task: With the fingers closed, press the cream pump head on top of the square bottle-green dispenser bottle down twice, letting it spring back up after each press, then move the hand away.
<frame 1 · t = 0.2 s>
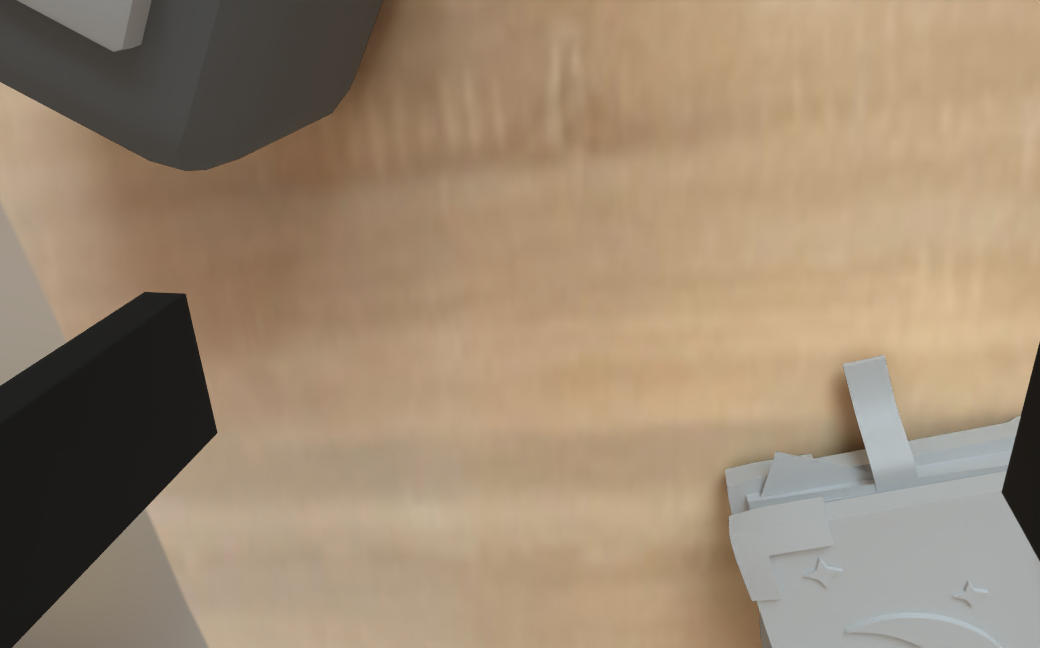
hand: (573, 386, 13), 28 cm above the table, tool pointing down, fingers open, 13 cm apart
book: (920, 562, 46), on the table
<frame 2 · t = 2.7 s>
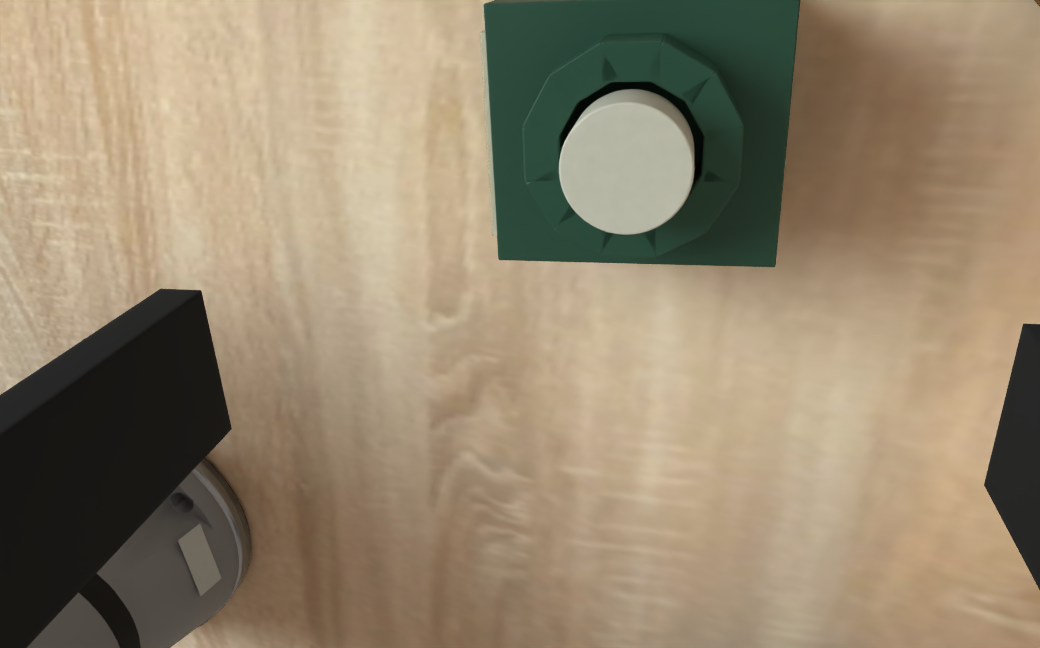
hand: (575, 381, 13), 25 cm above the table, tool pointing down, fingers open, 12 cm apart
pump: (628, 161, 25), point 11 cm above the table, slide at 0.1 cm
dispenser: (646, 99, 35), on the table
bottle label: (504, 124, 31), point 5 cm above the table
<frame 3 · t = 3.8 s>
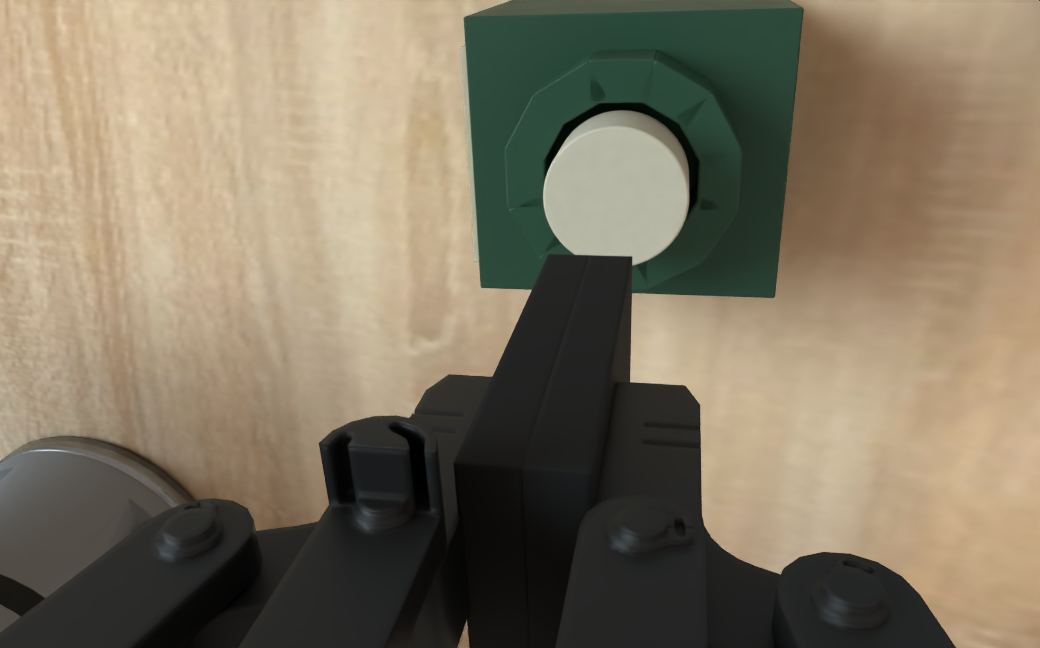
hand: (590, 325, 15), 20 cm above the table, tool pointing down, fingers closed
pump: (618, 188, 23), point 11 cm above the table, slide at 0.1 cm
dispenser: (637, 115, 33), on the table
bottle label: (487, 143, 29), point 5 cm above the table
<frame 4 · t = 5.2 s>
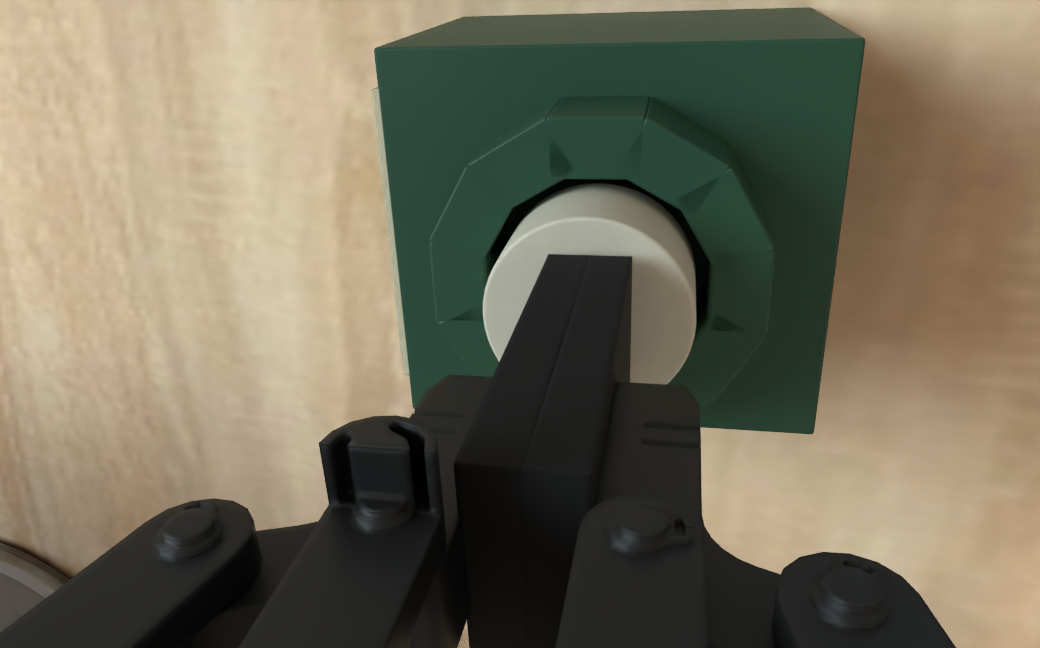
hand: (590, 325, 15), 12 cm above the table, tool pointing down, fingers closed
pump: (593, 296, 16), point 10 cm above the table, slide at -0.3 cm, touching gripper
dispenser: (627, 166, 25), on the table
bottle label: (423, 211, 22), point 5 cm above the table
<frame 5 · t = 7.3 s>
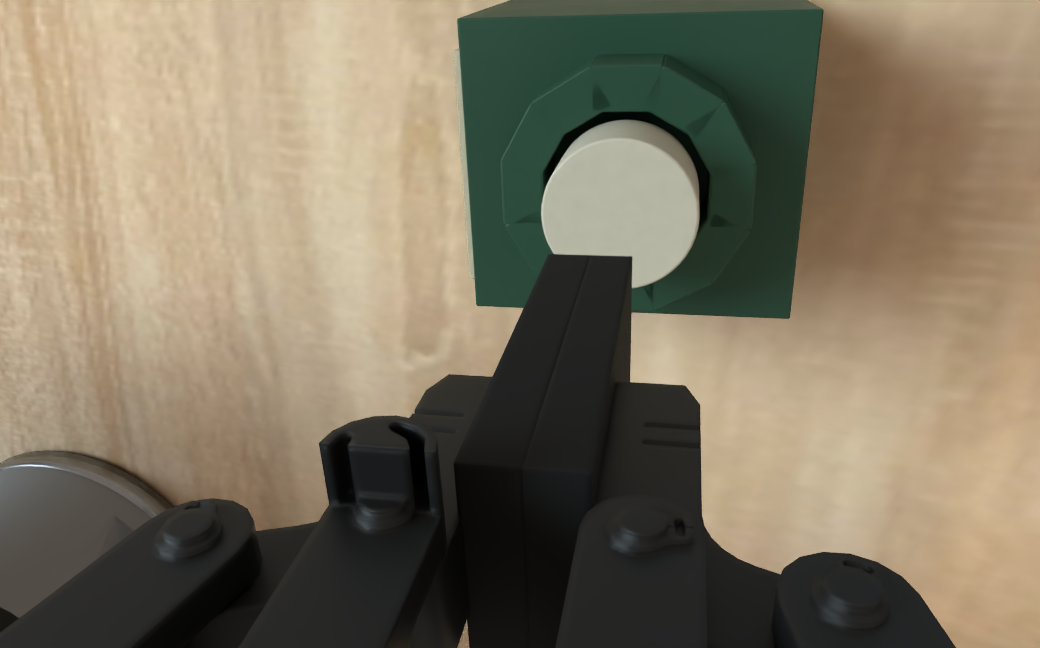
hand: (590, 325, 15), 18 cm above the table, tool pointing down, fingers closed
pump: (622, 203, 22), point 11 cm above the table, slide at 0.1 cm
dispenser: (643, 122, 31), on the table
bottle label: (483, 152, 28), point 5 cm above the table
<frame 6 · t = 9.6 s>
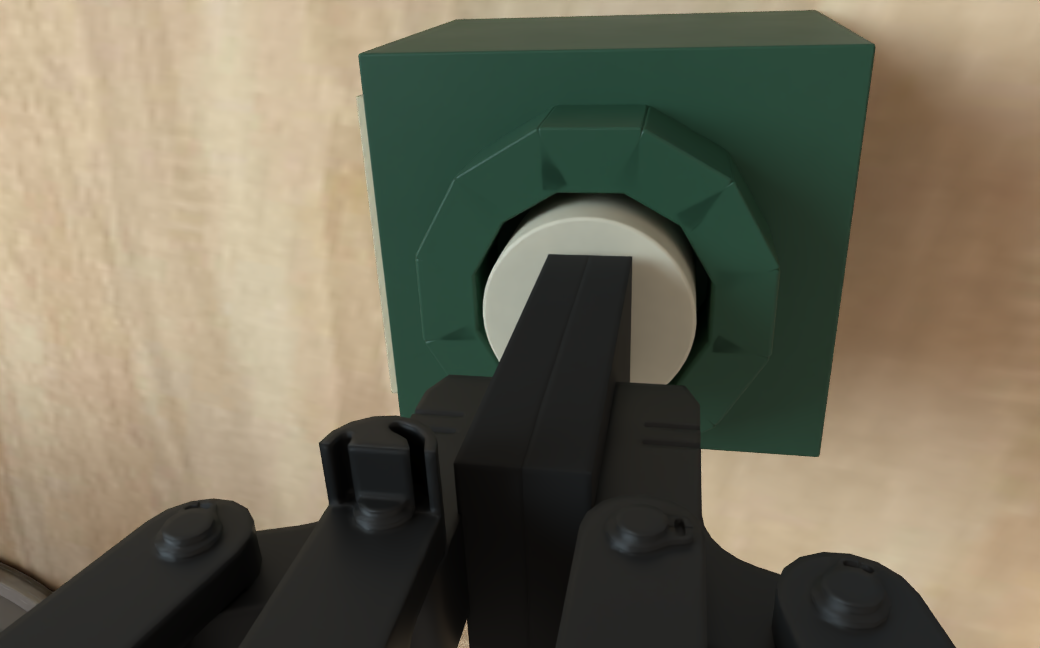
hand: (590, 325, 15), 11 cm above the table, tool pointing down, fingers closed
pump: (593, 296, 16), point 9 cm above the table, slide at -1.3 cm, touching gripper
dispenser: (626, 174, 25), on the table
bottle label: (413, 222, 21), point 5 cm above the table
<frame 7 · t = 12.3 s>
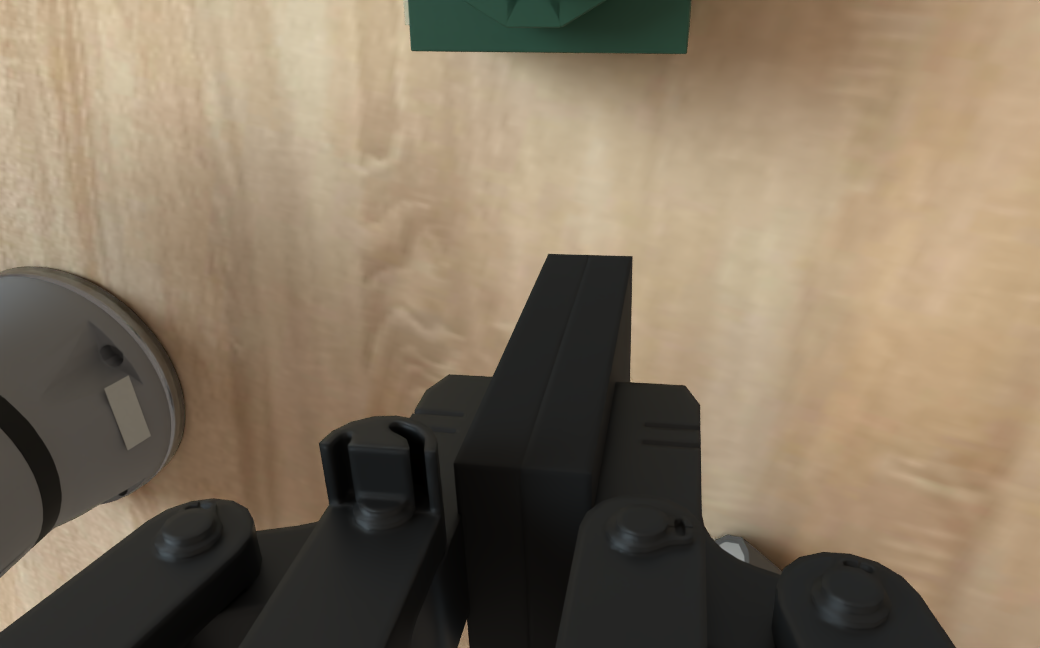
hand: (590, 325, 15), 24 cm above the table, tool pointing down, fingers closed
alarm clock: (712, 643, 50), on the table
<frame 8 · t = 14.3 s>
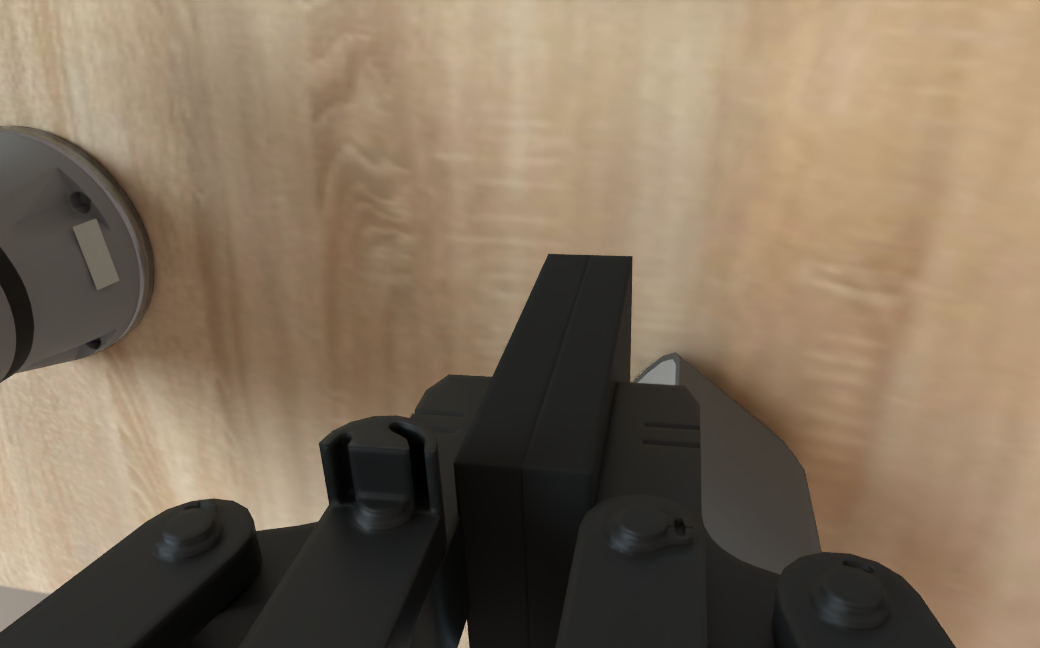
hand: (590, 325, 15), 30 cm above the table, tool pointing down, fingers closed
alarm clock: (658, 473, 52), on the table
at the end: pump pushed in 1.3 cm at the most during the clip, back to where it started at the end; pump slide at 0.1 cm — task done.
